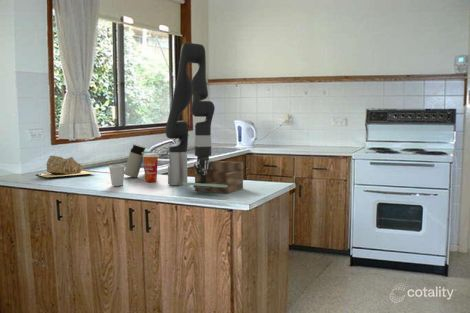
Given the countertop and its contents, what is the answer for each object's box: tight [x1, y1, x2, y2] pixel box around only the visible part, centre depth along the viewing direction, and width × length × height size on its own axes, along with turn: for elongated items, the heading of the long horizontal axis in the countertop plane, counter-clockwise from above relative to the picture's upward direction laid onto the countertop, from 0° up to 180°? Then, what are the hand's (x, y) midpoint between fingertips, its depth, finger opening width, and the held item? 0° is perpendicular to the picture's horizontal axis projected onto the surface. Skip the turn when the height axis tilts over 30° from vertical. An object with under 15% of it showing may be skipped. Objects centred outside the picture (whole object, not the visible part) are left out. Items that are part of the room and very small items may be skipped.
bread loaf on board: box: [39, 155, 93, 178], centre depth 299 cm, size 28×22×16 cm
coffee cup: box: [143, 152, 159, 183], centre depth 272 cm, size 8×8×15 cm
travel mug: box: [124, 143, 147, 179], centre depth 285 cm, size 8×8×18 cm
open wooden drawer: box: [194, 160, 244, 194], centre depth 243 cm, size 18×16×13 cm
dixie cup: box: [108, 164, 126, 187], centre depth 259 cm, size 8×8×10 cm
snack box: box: [142, 148, 152, 173], centre depth 290 cm, size 21×6×15 cm, turn 14°
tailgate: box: [182, 181, 228, 189], centre depth 230 cm, size 18×2×10 cm
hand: (203, 183), depth 228 cm, fingers closed
